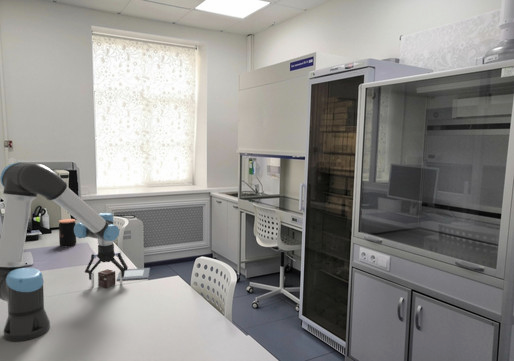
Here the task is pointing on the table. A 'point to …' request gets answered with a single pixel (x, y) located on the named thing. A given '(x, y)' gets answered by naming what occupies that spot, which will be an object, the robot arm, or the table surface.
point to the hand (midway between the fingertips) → (107, 284)
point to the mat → (135, 274)
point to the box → (106, 278)
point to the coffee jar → (67, 232)
